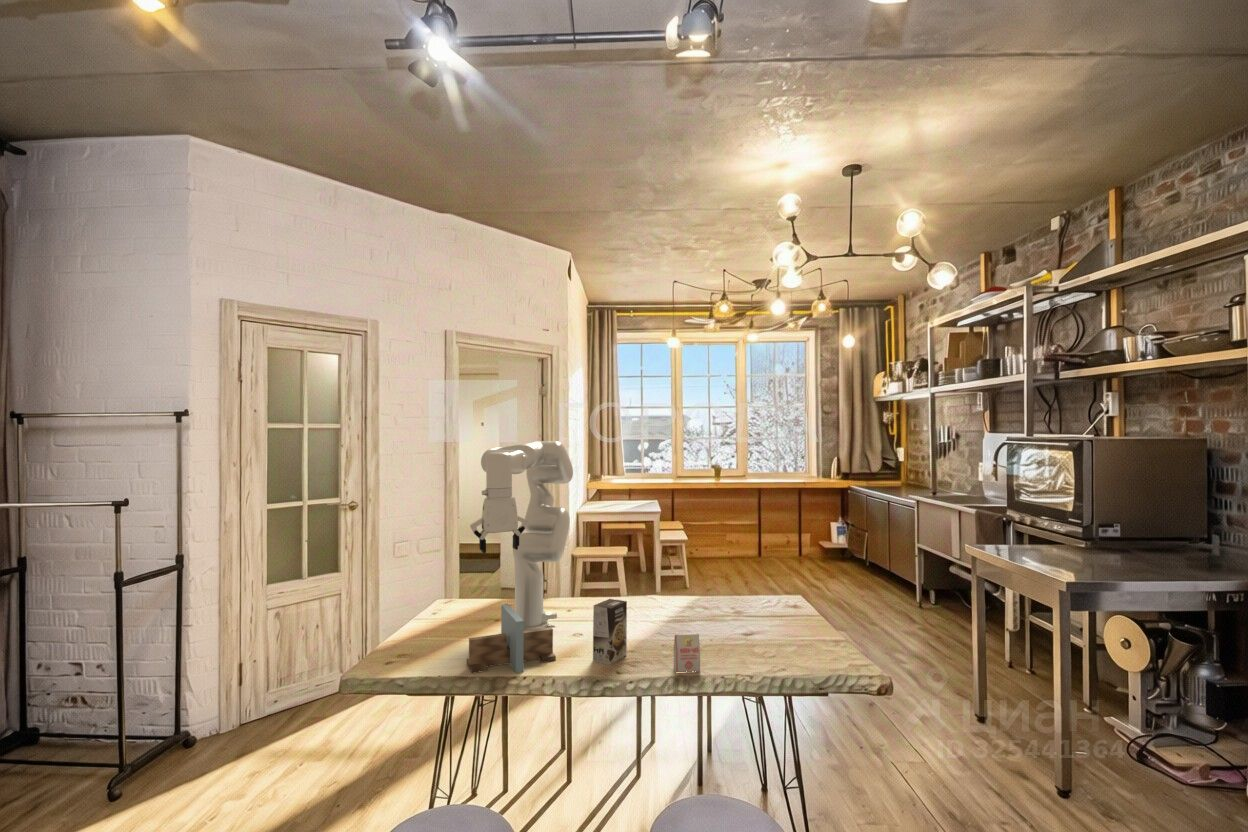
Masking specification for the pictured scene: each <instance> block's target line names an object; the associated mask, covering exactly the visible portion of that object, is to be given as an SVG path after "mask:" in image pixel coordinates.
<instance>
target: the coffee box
mask: <svg viewBox="0 0 1248 832" xmlns="http://www.w3.org/2000/svg"><path fill="white" fill-rule="evenodd" d="M627 602H628V601H627V600H621V599H614V598H613V599H612V598H608V599H606V600H604V601H601V602H598V603H596V604H593V620H592V623H593V626H592V661H593V662H597V663H600V662H601V664H604V663H605V665H609V666H610V665H612V663H613V664H614V663H616V662H617V661H618V662H619V661H620V660H622V659H623V658H625V657H627V644H628V643H627V640H628V639H627V638H628V637H627V635H628V633H627V632H628V631H627V626H628V625H627V624H628V623H627V622H628V620H627V619H628V614H627V613H628V612H627V609H628V607H627V606H628V605H627V604H628V603H627ZM624 656H625V657H624ZM619 659H620V660H619Z"/></svg>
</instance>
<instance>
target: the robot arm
mask: <svg viewBox="0 0 1248 832" xmlns="http://www.w3.org/2000/svg"><path fill="white" fill-rule="evenodd" d="M480 464H481V465H480V466H481V469H482V470H483V472H485V474H486V476H485V477H486V481H485V483H486V484H485V485H486V487H485V489H484V490H481V495H482V496H485V498H484V499H483V504H482V510H481V518H479V519H477V520H475V521H474V522H472V523H471V524H470V525H469V527H470V529H471V530H472V531H471V532H472V533H473V534H474V535H475V536H476V537H477V538H478V539H479V543H478V544H479V551H481V553H483V554H486V553H487V540H486V536H488V534H499V533H509V532H512V533H513V535H512V544H511V545H512V548H511V549H512V556H513V559H514V611H515V612H516V613H517V614H518V615H519V616H520V618H521V619H522V620H523V621H524V631H526V630H534V629H541V628H548V626H549V624H548V623H549V622H548V621H549V620H556V619H557V618H558V614H557V612H551V611H548V612H545V611H544V572H543V570H542V567H541V565H540V564H539V563H538V562H540V563H556V562H560V561H561V560H562V558H563V555H564V553H565V549H566V543H567V538H568V534H569V529H570V523H571V521H570V514H569V511H568V510H567V509H566V508H565V507H560V506H554V501H555V499H554V495H553V493H552V492H551V491H550V489H549V488H548V487H547V486H546V484H556V485H557V484H559V485H561V484H564V485H565V484H568V483H570V482H571V481H572V480H573V478H574V477H573V475H574V468H573V465H572V461H571V459H570V456H569V454H568V452H567V450H566V448H565V446H564V444H562V442H560V441H556V440H549V441H548V440H533V441H529V442H526V443H522V444H514V445H509V446H508V445H507V446H500V447H494V448H493V447H492V448H489V449H487V450H485V451H484V452H483V453H482V456H481V458H480ZM523 472H526V479H527V485H528V489H529V494H530V497H529V503H528V506H527V509H526V512H525V516H524V518H523V517H521V516H518V507H517V501H516V497H514V496H513V475H519V474H522V473H523ZM519 522H520V524H521V525H520V526H519ZM480 525H481V531H480V532H479V530H478V529H477V527H478V526H480ZM524 531H526V532H524Z"/></svg>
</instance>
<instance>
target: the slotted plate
mask: <svg viewBox="0 0 1248 832" xmlns="http://www.w3.org/2000/svg"><path fill="white" fill-rule="evenodd" d="M500 613H501V621H500V622H501V624H500V625H501V628H500V631H501V633H500V634H504V633H505V634H506V635H507V647H509V648H510V663H509V665H510V667H511V666H512V667H511V668H512V670H513V671H514V672H515V674H520V673H524V661H523V640H524V621H523V620H522V619H521V618H520V616H519V615H518V614H517V613H516V612H515V609H513V608H512V607H511V606H510V605H509V604H508V603H507V604H501V612H500Z"/></svg>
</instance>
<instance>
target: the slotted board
mask: <svg viewBox="0 0 1248 832" xmlns="http://www.w3.org/2000/svg"><path fill="white" fill-rule="evenodd" d="M553 635H554V629H553V628H552V627H551V626H550V627H546V628H541V629H534V630H526V631H524V640H523V662H525V661H524V660H527V661H530V660H529V659H534V660H540V661H541V662H542V663H545V662H552V661H556V659H557V658H556V657H557V656H556V654H555V653H554V645H553V643H554V636H553ZM538 658H540V659H538ZM505 663H508V664H510V648H509V647H507V635H506V634H505V633H504V634H501V633H498V634H491V635H490V634H489V635H484V636H483V635H481V636H476V637H469V638H468V658H467V659H466V664H467V666H468V668H469V670H470V672H471V674H475V673H474V672H476V673H480V672H479V671H483V672H486V671H485V670H487V668H488V667H491V666H490V665H495V666H500V665H499V664H501V665H506V664H505ZM487 666H488V667H487Z"/></svg>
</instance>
